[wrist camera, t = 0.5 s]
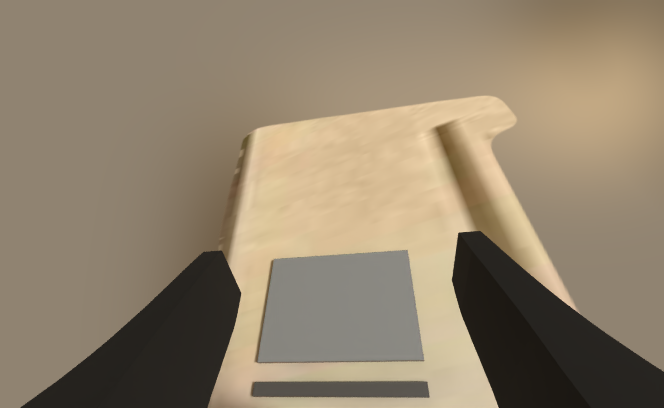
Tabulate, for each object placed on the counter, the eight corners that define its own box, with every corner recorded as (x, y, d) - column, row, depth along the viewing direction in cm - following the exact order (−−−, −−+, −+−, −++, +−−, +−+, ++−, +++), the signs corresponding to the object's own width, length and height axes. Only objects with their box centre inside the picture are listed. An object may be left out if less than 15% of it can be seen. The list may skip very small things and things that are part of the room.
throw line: (429, 397, 23) (429, 396, 23) (253, 396, 25) (252, 396, 25) (426, 382, 24) (427, 381, 23) (255, 382, 26) (254, 382, 26)
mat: (423, 360, 25) (424, 359, 24) (259, 363, 27) (257, 362, 26) (407, 252, 31) (407, 250, 31) (275, 260, 33) (273, 259, 33)
